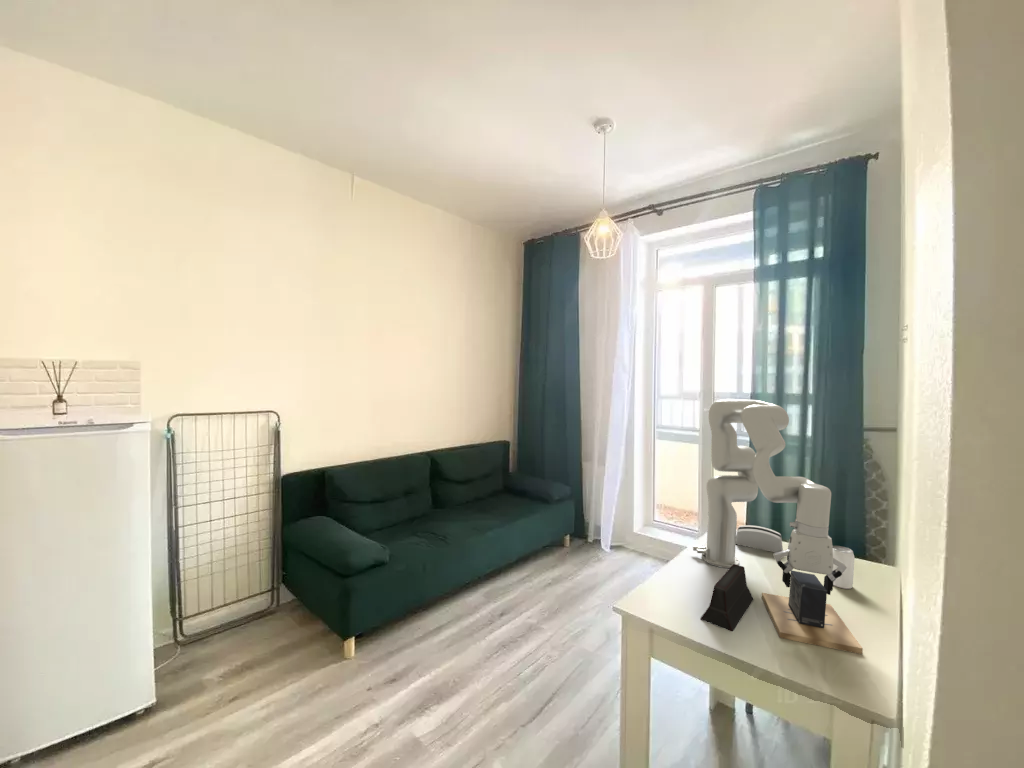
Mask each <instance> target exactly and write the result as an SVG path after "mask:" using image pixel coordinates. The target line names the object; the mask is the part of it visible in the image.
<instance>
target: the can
mask: <svg viewBox="0 0 1024 768" xmlns="http://www.w3.org/2000/svg"><path fill="white" fill-rule="evenodd" d="M832 546H833V558H835V559H836V560H838V561H840V562H841V563H843V564H844V565H845V566H846V567H847V568H846V570H845V571H844V572H843V573H842V575H841V576H840V577H838V578H836V580H835V581H833V587H836V588H839V589H843V590H844V589H845V590H851V589H852V588H853V585H854V572H855V555H854V551H853V550H852V549H851V548H849V547H845V546H840V545H832ZM837 567H838V566H836V565H835V564H833V571H834V570H835V569H837Z"/></svg>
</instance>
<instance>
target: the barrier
mask: <svg viewBox="0 0 1024 768" xmlns="http://www.w3.org/2000/svg"><path fill="white" fill-rule="evenodd" d="M745 569H746V568H745V566H742V565H740V564H739V565H736V564H733V565H732V566H731V567H730V568H728V570H727V571H726V572H725V573H724V574H723V575H722V576H721V577H720V578H719V580H718V581H716V583H715V584H714V586H713V590H712V594H711V597H710V603H709V606H708V608H706V610H705V611H704V613H703V615H702V616H701V617H700V621H704V622H706V623H709V624H711V625H714V626H716V627H719V628H722V629H724V630H725V631H726V630H727V631H729V632H734V631H735V629H736V627H737V626H738V625H739V623H740V622H741V621H742V618H743V617H744V615H745V614H746V612H747V611H748V609H749V608H750V606H751V605H752V603H753V601H754V600H755V598H754V596H753V595H752V593H751V591H750V589H749V587H748V585H747V584H748V583H747V576H746V570H745Z"/></svg>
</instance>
